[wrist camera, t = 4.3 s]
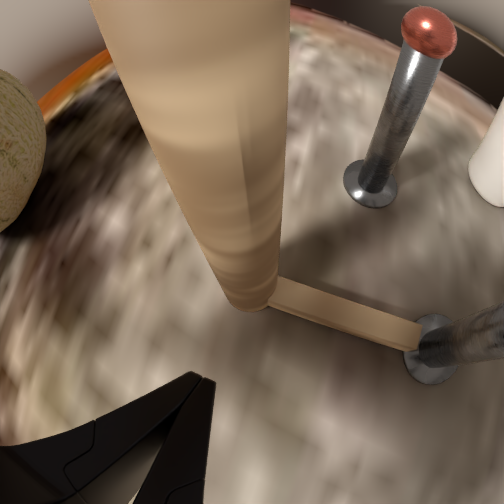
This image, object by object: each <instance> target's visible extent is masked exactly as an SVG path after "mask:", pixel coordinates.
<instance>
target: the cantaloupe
mask: <svg viewBox="0 0 504 504" xmlns="http://www.w3.org/2000/svg"><path fill="white" fill-rule="evenodd" d="M45 150H46V130H45V123H44V119H43V116H42V113H41V110H40V107H39V106H38V104H37V102H36V100H35V99H34V97H33V96H32V94H31V92H30V91H29V90H28V89H27V87H26V86H24V85H23V84H22V83H21V82H20V81H19V80H18V79H17V78H15V77H14V76H13V75H11V74H10V73H8V72H5V71H3V70H0V232H1V231H2V230H4V229H5V228H6V227H7V226H9V225H10V224H11V223H12V222H14V221H15V220H16V219H17V217H18V216H19V214H20V213H21V211H22V210H23V208H24V207H25V205H26V203H27V201H28V199H29V197H30V195H31V193H32V191H33V189H34V187H35V185H36V183H37V181H38V178H39V176H40V174H41V170H42V167H43V163H44V156H45Z"/></svg>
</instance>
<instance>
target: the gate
mask: <svg viewBox="0 0 504 504" xmlns="http://www.w3.org/2000/svg"><path fill="white" fill-rule="evenodd" d="M89 3H90V5H91V8H92V10H93V13H94V16H95V18H96V21H97V23H98V26H99V28H100V31H101V33H102V36H103V38H104V40H105V43H106V45H107V48H108V50H109V53H110V55H111V57H112V60H113V62H114V65H115V67H116V69H117V72H118V74H119V76H120V79H121V81H122V83H123V86H124V88H125V90H126V92H127V95H128V97H129V99H130V101H131V104H132V106H133V108H134V110H135V113H136V115H137V117H138V119H139V121H140V124H141V126H142V128H143V130H144V132H145V135H146V137H147V139H148V141H149V143H150V145H151V148H152V150H153V152H154V154H155V156H156V158H157V160H158V162H159V164H160V167H161V169H162V171H163V173H164V175H165V177H166V179H167V181H168V183H169V185H170V187H171V189H172V191H173V193H174V196H175V198H176V200H177V202H178V204H179V206H180V208H181V210H182V212H183V214H184V216H185V218H186V220H187V222H188V224H189V226H190V228H191V230H192V232H193V234H194V236H195V237H196V239H197V241H198V243H199V245H200V247H201V249H202V251H203V253H204V255H205V257H206V259H207V261H208V263H209V265H210V267H211V268H212V270H213V272H214V274H215V276H216V278H217V280H218V282H219V284H220V285H221V287H222V289H223V291H224V293H225V295H226V297H227V299H228V300H229V302H230V303H231V304H232V305H233V306H234V307H236V308H237V309H239V310H242V311H245V312H255V311H259V310H262V309H264V308H265V307H267V306H271V307H273V308H276V309H279V310H282V311H285V312H287V313H290V314H293V315H296V316H299V317H302V318H304V319H307V320H310V321H313V322H316V323H319V324H322V325H325V326H328V327H331V328H334V329H337V330H339V331H342V332H345V333H349V334H352V335H355V336H358V337H361V338H364V339H367V340H370V341H373V342H376V343H379V344H383V345H386V346H389V347H392V348H395V349H399V350H402V351H405V352H407V351H412V350H416V349H417V346H418V342H419V338H420V334H421V330H422V326H423V325H421V324H418V323H415V322H412V321H409V320H406V319H403V318H400V317H397V316H394V315H391V314H388V313H385V312H382V311H379V310H376V309H373V308H370V307H367V306H364V305H362V304H359V303H356V302H353V301H350V300H347V299H344V298H341V297H338V296H335V295H332V294H329V293H327V292H324V291H321V290H318V289H315V288H312V287H309V286H306V285H304V284H301V283H298V282H295V281H292V280H289V279H286V278H284V277H281V276H278V265H279V251H280V236H281V221H282V205H283V188H284V170H285V151H286V129H287V105H288V77H289V41H290V0H89Z"/></svg>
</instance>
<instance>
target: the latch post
mask: <svg viewBox="0 0 504 504" xmlns="http://www.w3.org/2000/svg"><path fill="white" fill-rule="evenodd" d="M401 30H402V35H403V38H404V42H403V45H402V49H401V52H400V55H399V59H398V62H397V66H396V69H395V72H394V75H393V78H392V82H391V85H390V88H389V91H388V94H387V97H386V100H385V103H384V106H383V109H382V112H381V115H380V118H379V121H378V124H377V127H376V129H375V132H374V135H373V138H372V141H371V143H370V146H369V149H368V152H367V154H366V157H365V160H358V161H355V162H353V163H351V164H350V165H349V166H348V167H347V168H346V170H345V173H344V177H343V182H344V187H345V189H346V191H347V193H348V194H349V195H350V196H351V197H352V199H354V200H355V201H356V202H358V203H359V204H361V205H363V206H366V207H370V208H382V207H385V206H387V205H389V204H390V203H391V202H392V201H393V200H394V198H395V196H396V194H397V183H396V180H395V178H394V176H393V174H392V172H393V170H394V168H395V166H396V164H397V162H398V160H399V158H400V156H401V154H402V152H403V150H404V148H405V146H406V143H407V141H408V139H409V137H410V135H411V133H412V131H413V129H414V127H415V124H416V122H417V120H418V118H419V116H420V114H421V111H422V109H423V107H424V105H425V102H426V100H427V98H428V96H429V93H430V91H431V89H432V86H433V84H434V82H435V79H436V77H437V74H438V72H439V69H440V67H441V64H442V62H443V59H444V58H445V57H447V56H449V55H450V54H451V53H452V52H453V51H454V49H455V47H456V44H457V33H456V30H455V27H454V25H453V23H452V22H451V20H450V19H449V18H448V17H447V16H446V15H445V14H444V13H442V12H441V11H439V10H437V9H435V8H432V7H426V6H420V7H415V8H413V9H411V10H410V11H408V12H407V13H406V15H405V16H404V18H403V20H402V24H401Z"/></svg>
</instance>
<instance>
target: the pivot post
mask: <svg viewBox="0 0 504 504" xmlns="http://www.w3.org/2000/svg"><path fill="white" fill-rule="evenodd" d="M415 323H418V324H421V325H423V326H422V330H421V334H420V338H419V342H418V346H417V349H416V350H412V351H407V352H405V351H403V359H404V363H405V366H406V368H407V370H408V372H409V373H410V375H411V376H412V377H413V378H414V379H416V380H417V381H419V382H421V383H424V384H438V383H441V382H443V381H445V380H447V379H448V378H449V377H450V376H451V375H452V374H453V373H454V372H455V370H456V369H457V367H458V365H463V364H470V363H476V362H482V361H488V360H494V359H499V358H504V301H503V302H501V303H498V304H496V305H494V306H492V307H489V308H487V309H485V310H482V311H480V312H478V313H475V314H473V315H470V316H468V317H465V318H463V319H460V320H458V321H455V322H452V321H451V320H450V319H449V318H447V317H445V316H443V315H439V314H430V315H426V316H424V317H422V318H420V319H418V320H417V321H416V322H415Z"/></svg>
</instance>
